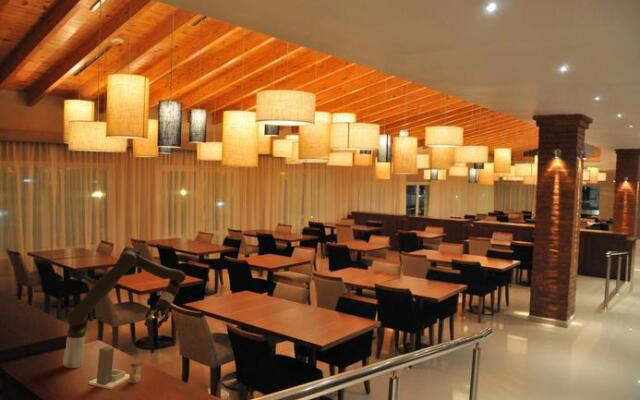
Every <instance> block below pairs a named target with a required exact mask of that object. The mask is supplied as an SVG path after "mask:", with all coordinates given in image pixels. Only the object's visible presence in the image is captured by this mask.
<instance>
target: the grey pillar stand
mask: <svg viewBox="0 0 640 400" xmlns="http://www.w3.org/2000/svg"><path fill="white" fill-rule="evenodd" d="M114 351H115V348H114V347H111V346H104V347H101V348H99V351H98V363H97V373H96V377H95V378H94V379H92V380H90V381H88V385H90V386H95V387H100V388H104V389H108V390H112V389H115V388H116V387H118V386H120V385H121V384H123V383H125V382H128V381H129V378H130V373H126V371H124V370H120V369H116V368H113V366H114V365H113V364H114V362H113V361H114Z"/></svg>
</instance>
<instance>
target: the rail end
mask: <svg viewBox="0 0 640 400" xmlns="http://www.w3.org/2000/svg"><path fill="white" fill-rule="evenodd" d="M142 365H143V362H140V361H133V362H131V363H130V369H129V374H130V378H129V380H128V382H129V383H133V384H137V383H139V382H141V375H142Z"/></svg>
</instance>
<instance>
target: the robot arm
mask: <svg viewBox="0 0 640 400" xmlns="http://www.w3.org/2000/svg"><path fill="white" fill-rule="evenodd" d="M133 267H136V268H139V269H142V270H144V271H146V273H149V274H150V275H152V276H155V277H158V278H160V279H162V280H167V279H168V280H169V281H168V284H167V286H166V287H165V289H164V292H163V293H162V294H161V295H160V297H159V299H158V301H157V302H156V303H155V308H153V309H152V308H151V307H149V309H148V311H147V312H146V313H145V316H144V317H145V318H146V319H145V321H144V324H143V325H144V326H145V327H148V325H149V324H150V322H151V320H152V319H153V320H154V319H159V320H158V322H157V324H156V325H155V327H156V328H157V329H160V328H161V327H162V325H163V323H167V322H168V320H169V318H170V316H171V314H172V313H171V312H170V311H169V310H170V307H171V305H172V304H173V302H174V300H175V298H176V295H177V294H178V291H179V288H180V286H181V285H182V283H184V282H185V280H186V279H187V276H186V274H185V273H184V271H181V270H180V269H175V268H174V269H173V268H169V267H167V266H164V265H162V264H158V263H157V262H154V261H151V260H149V259H146V257H145V258H144V257H143V256H140V255H139V254H138V253H136V252H134V251H133V250H130V249H125V250H123V251H122V252H121V253H120V255H119V258H118V259H117V261H116V262H115V264H114V265H113V267H112V268H110V270H109V271H107V272H106V273H105V274H103V275H102V276H101V277H100V278H99V279H97V281H96V282H95V283H94V285H93V286H92V287H91V288H90V290H89V291H88V292H87V293H86V295H85V296H84V298H83V299H82V300H81V302H79V304H77V305H76V306H75V307H74V308H73V309H72V310H71V311H69V312H68V314H67V323H68V324H69V326H68V329H67V334H66V345H65V348H64V350H63V362H62V366H63V367H64V368H67V369H77V368H80V367H82V366H83V361H84V349H85V339H86V331H87V327H88V317H89V316H88V315H89V314H90V313H91V311H92V310H93V309H94V308H95V307H96V306H97V305H99V303H101V302H102V301H103V300H104V299H105V298H106V297H107V296H108V295H109V294H110V292H112V290H113V289H114V288H115V286H116V285H117V284H118V283H119V281H120V280H121V278H122V277H123V276H125V274H126V273H127V272H129V270H130V269H132V268H133Z"/></svg>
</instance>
